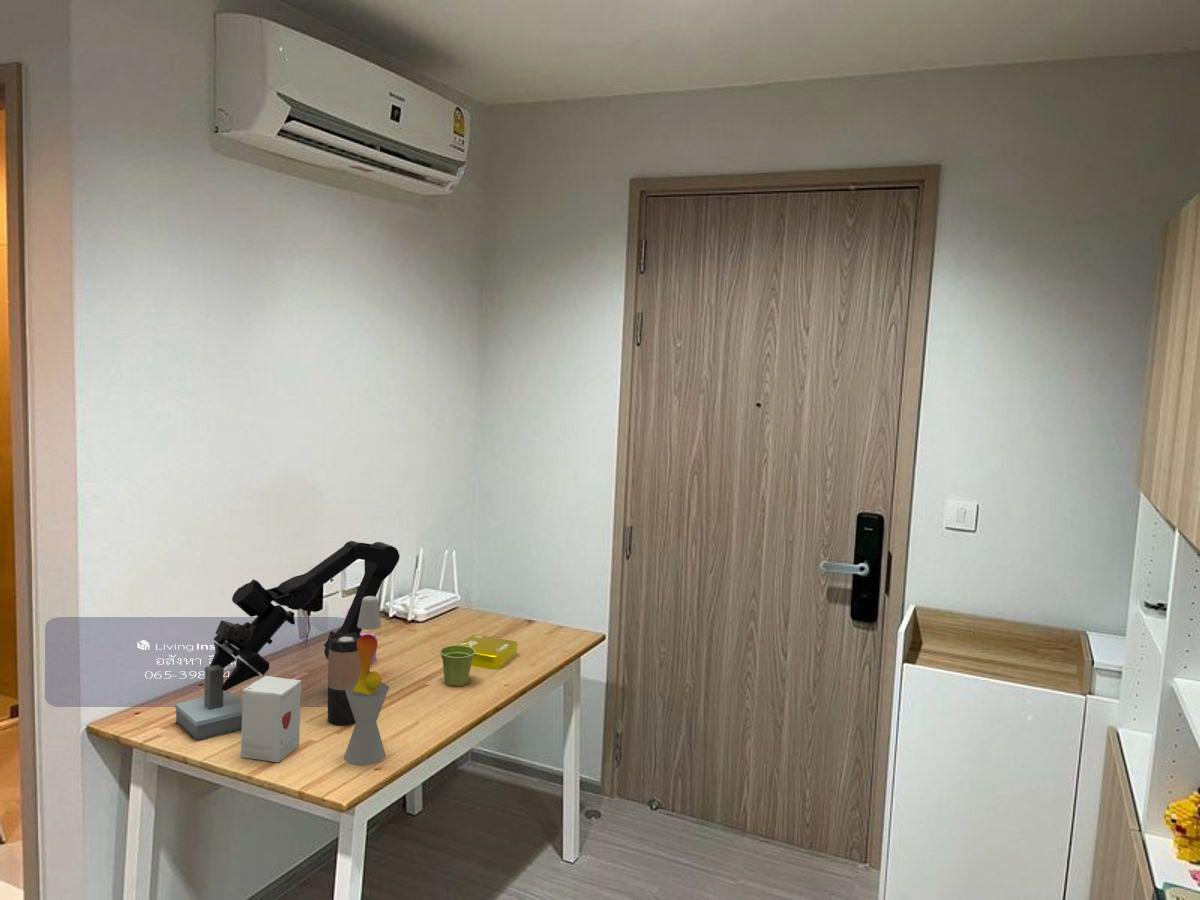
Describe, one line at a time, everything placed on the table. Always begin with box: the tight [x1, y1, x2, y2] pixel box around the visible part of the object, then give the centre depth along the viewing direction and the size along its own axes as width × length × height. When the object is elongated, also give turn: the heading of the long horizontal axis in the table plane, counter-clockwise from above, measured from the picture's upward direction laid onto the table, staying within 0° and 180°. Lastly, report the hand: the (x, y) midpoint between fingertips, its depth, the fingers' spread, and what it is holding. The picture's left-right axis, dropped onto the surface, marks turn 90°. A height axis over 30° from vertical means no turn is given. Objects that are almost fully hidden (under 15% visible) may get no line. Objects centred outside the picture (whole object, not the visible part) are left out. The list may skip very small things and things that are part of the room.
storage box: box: [175, 708, 242, 742], centre depth 203 cm, size 12×12×4 cm
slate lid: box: [174, 665, 242, 726], centre depth 202 cm, size 12×12×11 cm
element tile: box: [456, 634, 518, 670], centre depth 257 cm, size 15×15×5 cm
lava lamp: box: [343, 596, 390, 766], centre depth 191 cm, size 9×9×35 cm
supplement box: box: [240, 675, 302, 764], centre depth 191 cm, size 9×9×15 cm
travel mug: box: [327, 633, 361, 727], centre depth 209 cm, size 8×8×20 cm
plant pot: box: [439, 644, 476, 687], centre depth 237 cm, size 9×9×9 cm
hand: (214, 683), depth 202 cm, fingers open, 9 cm apart
